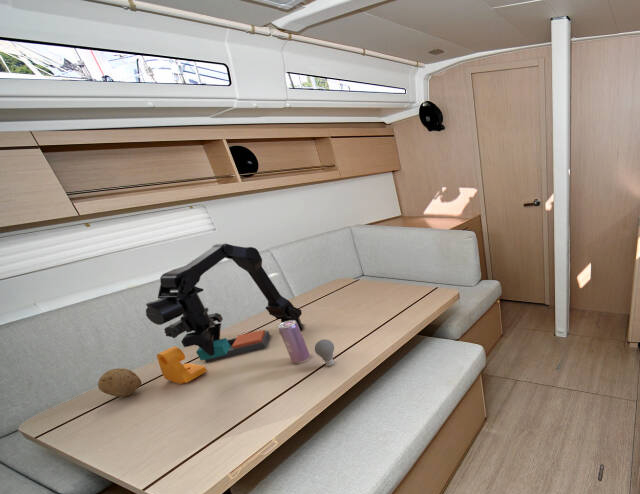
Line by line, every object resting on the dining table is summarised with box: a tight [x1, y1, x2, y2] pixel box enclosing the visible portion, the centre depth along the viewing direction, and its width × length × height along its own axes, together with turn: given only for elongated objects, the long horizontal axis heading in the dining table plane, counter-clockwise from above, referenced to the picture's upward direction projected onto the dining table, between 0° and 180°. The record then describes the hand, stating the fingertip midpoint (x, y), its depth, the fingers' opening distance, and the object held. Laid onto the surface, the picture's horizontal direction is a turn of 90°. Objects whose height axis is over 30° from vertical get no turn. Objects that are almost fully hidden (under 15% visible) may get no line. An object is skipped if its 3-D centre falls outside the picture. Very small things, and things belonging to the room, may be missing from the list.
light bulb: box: [314, 339, 335, 367], centre depth 122 cm, size 6×6×10 cm
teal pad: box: [195, 337, 230, 361], centre depth 118 cm, size 7×6×4 cm
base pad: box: [232, 329, 266, 349], centre depth 141 cm, size 9×9×3 cm
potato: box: [97, 367, 142, 398], centre depth 115 cm, size 9×9×10 cm
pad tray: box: [204, 330, 271, 364], centre depth 140 cm, size 20×12×3 cm, turn 115°
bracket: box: [156, 346, 208, 385], centre depth 122 cm, size 11×7×12 cm, turn 73°
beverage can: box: [277, 320, 311, 364], centre depth 126 cm, size 6×6×15 cm
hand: (214, 350), depth 119 cm, fingers closed on teal pad, 6 cm apart
